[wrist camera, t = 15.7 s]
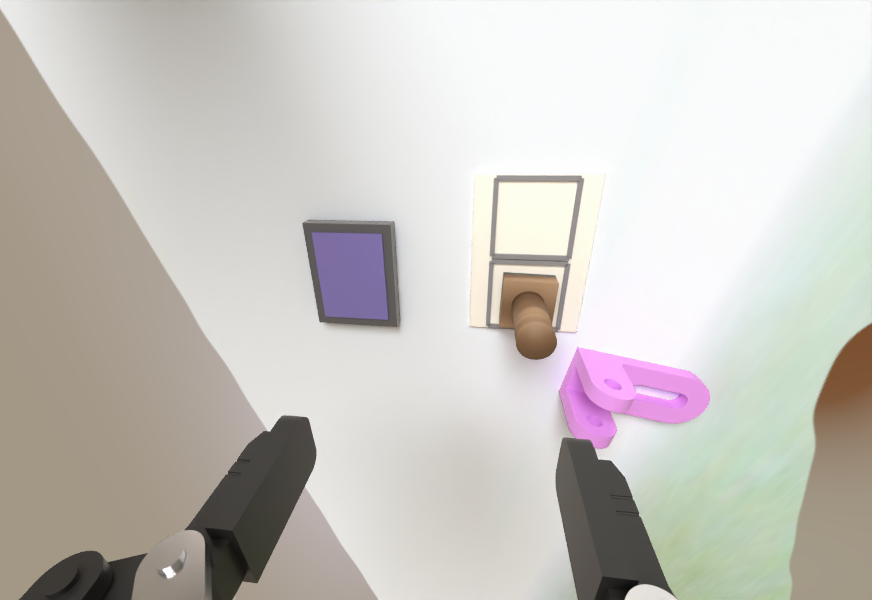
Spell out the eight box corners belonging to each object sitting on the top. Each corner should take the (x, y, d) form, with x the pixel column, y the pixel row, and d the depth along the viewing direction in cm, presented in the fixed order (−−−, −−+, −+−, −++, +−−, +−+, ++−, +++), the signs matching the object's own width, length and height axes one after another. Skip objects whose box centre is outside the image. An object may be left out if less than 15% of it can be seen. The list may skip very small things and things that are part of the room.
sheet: (474, 174, 29) (474, 174, 28) (604, 174, 27) (606, 174, 27) (469, 324, 35) (469, 327, 34) (575, 330, 33) (576, 333, 33)
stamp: (503, 272, 32) (507, 312, 24) (555, 275, 31) (574, 317, 24) (498, 316, 33) (501, 366, 26) (547, 320, 33) (563, 372, 26)
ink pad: (308, 219, 32) (301, 223, 31) (393, 221, 31) (389, 225, 30) (324, 316, 37) (318, 322, 35) (400, 320, 36) (396, 327, 34)
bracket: (558, 390, 37) (573, 442, 30) (577, 346, 34) (596, 393, 28) (685, 418, 36) (725, 478, 30) (713, 375, 34) (764, 431, 27)
